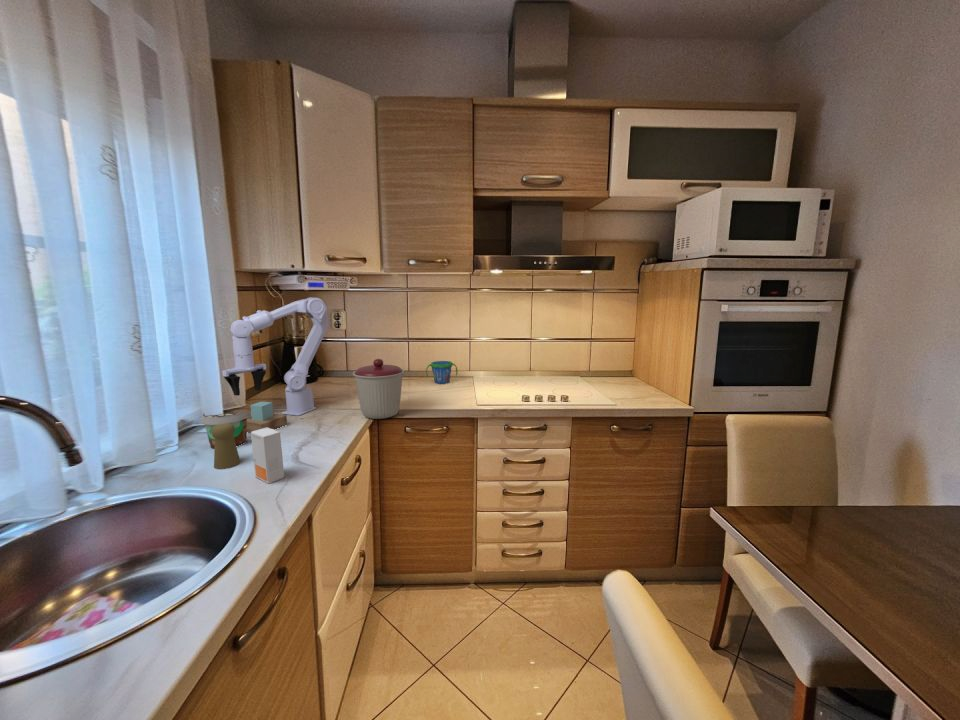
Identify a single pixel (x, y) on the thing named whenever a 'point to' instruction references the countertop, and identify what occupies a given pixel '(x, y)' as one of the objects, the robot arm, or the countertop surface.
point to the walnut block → (266, 423)
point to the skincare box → (267, 455)
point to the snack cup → (441, 371)
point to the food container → (235, 419)
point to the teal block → (262, 411)
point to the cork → (225, 446)
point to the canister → (379, 389)
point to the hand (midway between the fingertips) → (247, 392)
